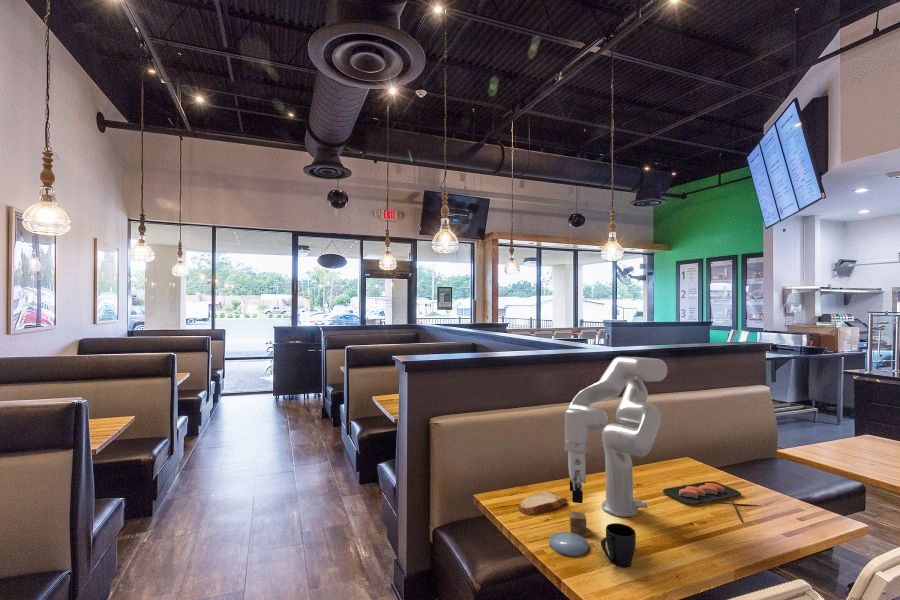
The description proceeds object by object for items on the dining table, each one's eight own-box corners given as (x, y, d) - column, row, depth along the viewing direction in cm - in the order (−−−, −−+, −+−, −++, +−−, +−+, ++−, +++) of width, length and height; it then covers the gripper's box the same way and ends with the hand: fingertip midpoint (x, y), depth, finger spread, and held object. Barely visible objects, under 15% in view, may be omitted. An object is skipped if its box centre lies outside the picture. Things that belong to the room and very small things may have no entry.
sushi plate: (712, 484, 184) (712, 475, 185) (786, 515, 156) (786, 505, 156) (659, 494, 175) (659, 484, 175) (727, 528, 147) (727, 517, 147)
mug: (591, 562, 126) (590, 530, 126) (619, 551, 132) (618, 520, 132) (613, 578, 119) (613, 543, 119) (642, 565, 125) (641, 532, 125)
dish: (585, 537, 140) (585, 533, 141) (590, 558, 129) (590, 553, 129) (548, 534, 143) (548, 530, 143) (550, 554, 131) (550, 549, 131)
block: (584, 526, 148) (584, 512, 148) (586, 534, 143) (586, 519, 143) (569, 525, 149) (569, 511, 149) (571, 532, 144) (570, 517, 144)
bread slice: (517, 514, 158) (517, 504, 158) (521, 494, 175) (521, 485, 175) (567, 520, 153) (567, 509, 153) (567, 499, 171) (566, 489, 171)
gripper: (590, 454, 137) (590, 508, 136) (584, 439, 154) (584, 488, 153) (566, 452, 139) (566, 506, 138) (562, 438, 156) (562, 486, 155)
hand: (575, 496), depth 146 cm, fingers open, 9 cm apart
